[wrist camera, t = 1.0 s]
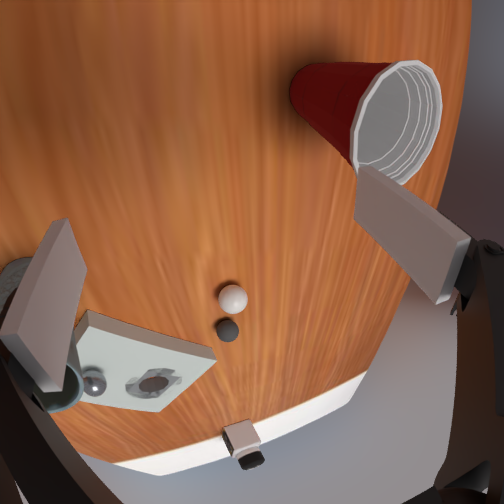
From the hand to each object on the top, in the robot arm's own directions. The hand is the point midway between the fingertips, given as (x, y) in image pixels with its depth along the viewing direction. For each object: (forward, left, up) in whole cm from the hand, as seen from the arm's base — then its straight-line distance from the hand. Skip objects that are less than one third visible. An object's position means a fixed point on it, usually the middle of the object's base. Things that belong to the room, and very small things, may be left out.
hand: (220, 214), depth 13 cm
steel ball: (+9, -29, -11) cm, 32 cm away
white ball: (+19, -11, -13) cm, 26 cm away
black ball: (+23, -16, -14) cm, 31 cm away
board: (+15, -29, -15) cm, 36 cm away
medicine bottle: (+56, -47, -15) cm, 75 cm away
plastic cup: (+9, +12, -15) cm, 22 cm away
